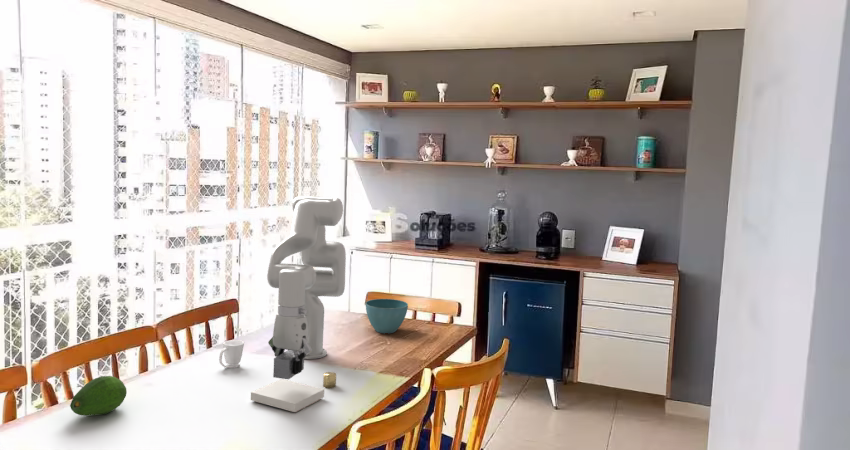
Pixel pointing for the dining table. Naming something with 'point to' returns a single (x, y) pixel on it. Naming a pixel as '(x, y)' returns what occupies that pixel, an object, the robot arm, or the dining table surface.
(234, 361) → the cup
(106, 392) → the fruit
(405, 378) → the dining table surface
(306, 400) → the stand
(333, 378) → the cylinder
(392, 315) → the teal bowl
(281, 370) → the block
